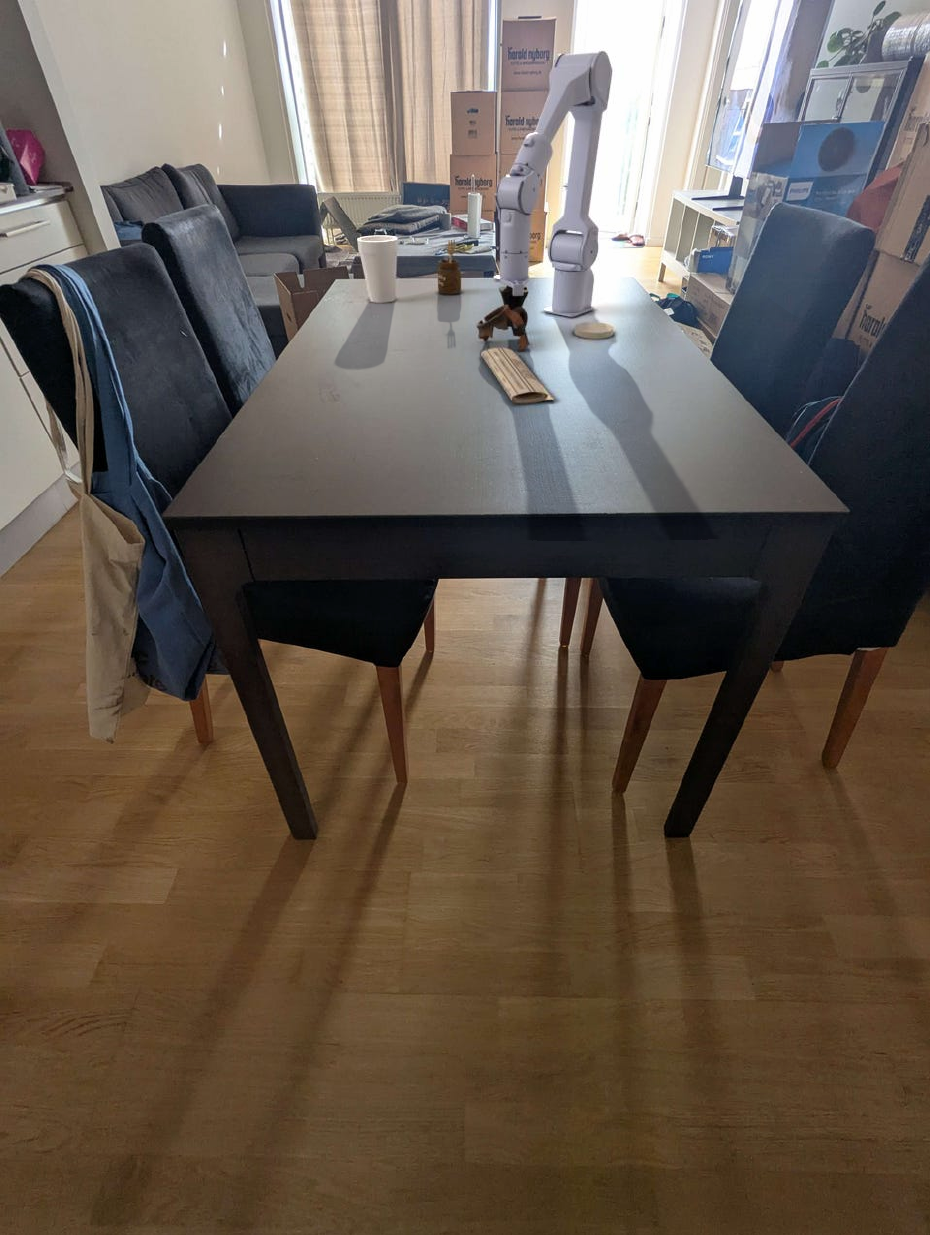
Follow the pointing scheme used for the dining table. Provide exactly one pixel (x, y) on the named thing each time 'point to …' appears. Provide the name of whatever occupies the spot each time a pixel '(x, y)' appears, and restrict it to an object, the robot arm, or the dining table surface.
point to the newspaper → (515, 376)
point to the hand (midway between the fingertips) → (512, 326)
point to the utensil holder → (449, 274)
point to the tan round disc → (593, 330)
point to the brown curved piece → (505, 324)
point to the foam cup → (379, 266)
